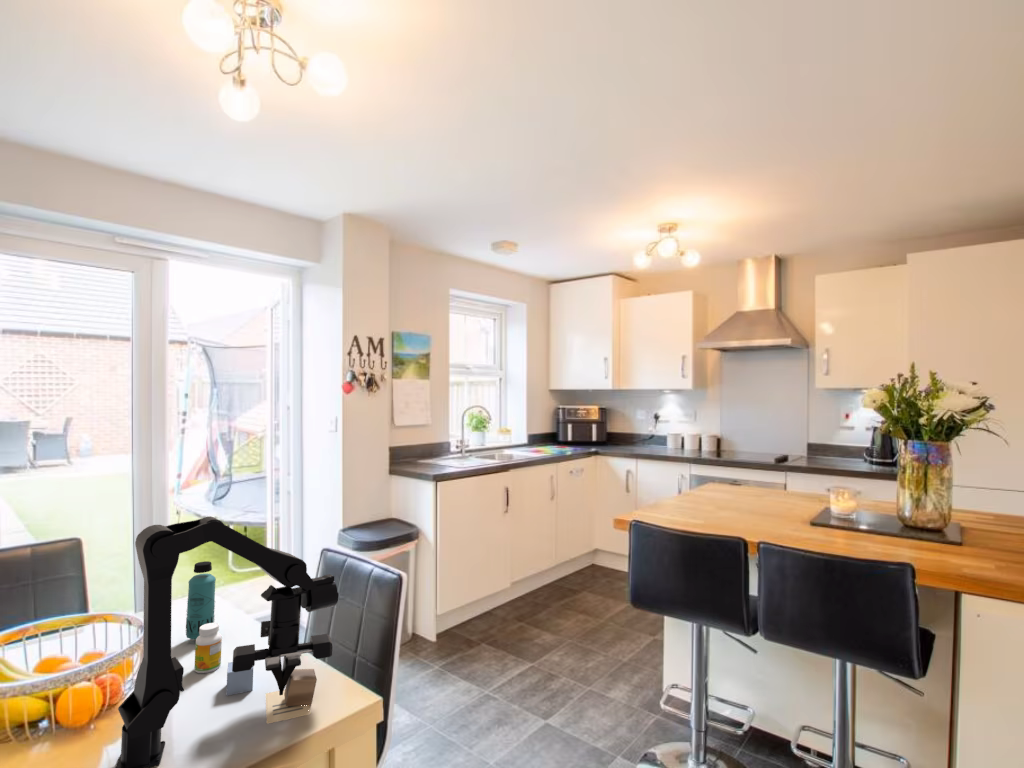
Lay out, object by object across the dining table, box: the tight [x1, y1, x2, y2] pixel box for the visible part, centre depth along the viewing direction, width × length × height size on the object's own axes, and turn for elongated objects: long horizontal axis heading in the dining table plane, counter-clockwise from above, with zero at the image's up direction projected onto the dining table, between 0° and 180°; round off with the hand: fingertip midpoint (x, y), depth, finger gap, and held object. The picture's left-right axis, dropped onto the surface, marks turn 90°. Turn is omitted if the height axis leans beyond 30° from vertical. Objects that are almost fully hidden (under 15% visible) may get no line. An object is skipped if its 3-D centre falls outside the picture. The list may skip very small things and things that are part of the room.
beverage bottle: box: [185, 560, 216, 640], centre depth 141 cm, size 6×7×20 cm
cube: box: [226, 661, 254, 696], centre depth 117 cm, size 5×5×5 cm
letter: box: [265, 689, 311, 724], centre depth 111 cm, size 12×8×1 cm, turn 26°
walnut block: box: [284, 668, 318, 706], centre depth 112 cm, size 5×5×5 cm
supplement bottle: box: [194, 622, 223, 674], centre depth 126 cm, size 5×5×10 cm
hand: (281, 694), depth 110 cm, fingers closed
